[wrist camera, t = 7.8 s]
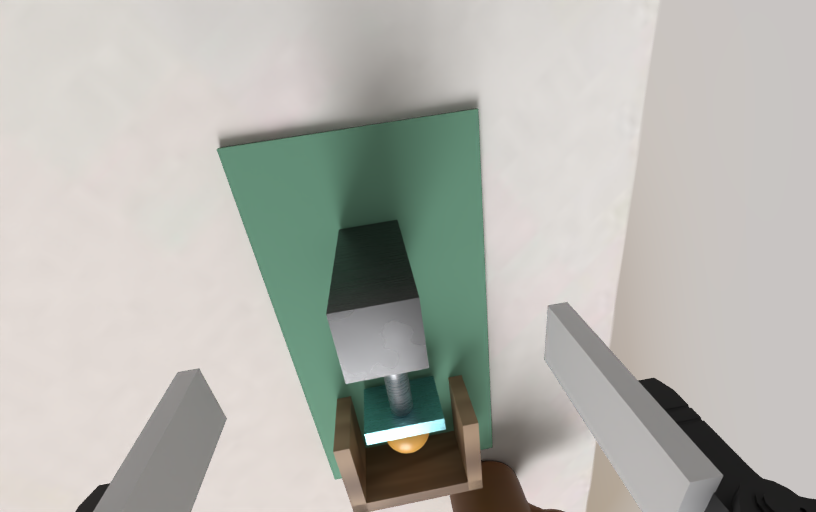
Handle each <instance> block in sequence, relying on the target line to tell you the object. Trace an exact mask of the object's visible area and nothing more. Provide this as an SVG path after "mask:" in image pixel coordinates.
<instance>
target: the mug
mask: <svg viewBox="0 0 816 512" xmlns="http://www.w3.org/2000/svg"><path fill="white" fill-rule="evenodd" d="M481 470H482V485H483V488H481V489H476V490H471V491H466V492H461V493H457V494H452V495H450V499H451V504H452V508H453V512H564V511H561V510H556V509H541V508H539V507H536V506H534V505H532V504H530V503H528V502H527V500H526V498H525V495H524V493H523V490H522V488H521V485H520V483H519V480H518V478H517V476H516V474H515V473H514V471H513V470H512V469H511V468H510V467H509V466H507V465H506V464H503V463H501V462H496V461H484V462H481Z"/></svg>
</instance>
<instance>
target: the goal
mask: <svg viewBox="0 0 816 512" xmlns="http://www.w3.org/2000/svg"><path fill="white" fill-rule="evenodd" d="M448 380H449V389H450V399H451V408H452V417H453V426H454V431H450V432H445V433H440V434H435V435H430V436H428V439H427V441H426V443H425V444H424V445H423V446H422V447H421V448H420V449H419V450H417V451H415V452H413V453H400V452H398V451H396V450H394V449H393V448H392V447H390V445H389V444H385V445H380V446H375V447H370V448H365V445H364V441H363V438H362V434H361V430H360V427H359V423H358V420H357V416H356V413H355V409H354V406H353V402H352V398H351V396H349V397H344V398H339V399H337V407H336V420H335V434H334V447H333V453H334V456H335V459H336V462H337V465H338V468H339V470H340V473H341V476H342V479H343V482H344V485H345V488H346V491H347V494H348V497H349V500H350V502H351V505H352V508H353V511H354V512H371V511H375V510H380V509H385V508H390V507H394V506H399V505H404V504H409V503H414V502H418V501H423V500H428V499H433V498H438V497H442V496H447V495H452V494H457V493H461V492H466V491H471V490H476V489H481V488H483V485H482V470H481V454H480V439H479V424H478V420H477V417H476V415H475V412H474V409H473V406H472V403H471V400H470V398H469V395H468V392H467V389H466V386H465V383H464V381H463V378H462V375H459V376H454V377H448Z"/></svg>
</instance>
